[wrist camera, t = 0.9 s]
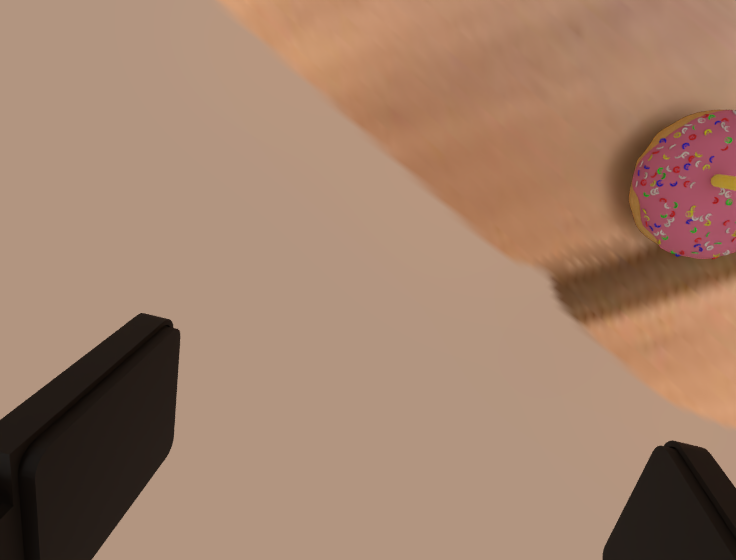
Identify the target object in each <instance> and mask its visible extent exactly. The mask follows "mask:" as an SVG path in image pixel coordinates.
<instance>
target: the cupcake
mask: <svg viewBox="0 0 736 560" xmlns="http://www.w3.org/2000/svg"><path fill="white" fill-rule="evenodd" d="M629 204H630V207H631V210H632V213H633V217H634V220H635V223H636V225H637V227H638V228H639V230H640V231H641V232H642V233H643V234H644V235H645V236H646V237H648V238H649V239H650V240H652V241H653V242H655V243H656V244H658V245H659V246H660V247H661V248H662V249H664V250H666V251H668V252H670V253H672V254H675V255H676V256H687V257H692V258H698V259H708V258H712V259H715V258H717V257H719V256H723V255H727V254H731V253H734V252H736V110H712V111H704V112H699V113H695V114H692V115H689V116H686V117H684V118H682V119H680V120H678V121H677V122H675V123H673V124H672V125H670V126H668V127H666V128H664V129H663V130H661V131H660V132H659V133H658V134H657V135H656V136H655V137H654V139H653V140H652V142H651V143H650V145H649V146H648V148H647V149H646V150H645V152H644V153H643V154H642V155H641V156H640V157H639V159H638V161H637V163H636V166H635V171H634V175H633V179H632V183H631V188H630V193H629Z"/></svg>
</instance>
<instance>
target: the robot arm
mask: <svg viewBox="0 0 736 560" xmlns="http://www.w3.org/2000/svg"><path fill="white" fill-rule="evenodd" d="M179 349H180V331H179V330H178V329H175V328H173V323H172V321H171V320H169V319H165V318H161V317H157V316H153V315H149V314H144V313H140V314H139V315H137V316H136V317H134V318H133V319H132V320H130V321H129V322H128V323H126V324H125V325H124V326H123V327H121V328H120V329H119V330H117V331H116V332H115V333H113V334H112V335H111V336H109V337H108V338H107V339H106V340H104V341H103V342H102V343H100V344H99V345H98V346H96V347H95V348H94V349H92V350H91V351H90V352H88V353H87V354H86V355H85V356H83V357H82V358H81V359H79V360H78V361H77V362H75V363H74V364H73V365H71V366H70V367H69V368H68V369H66V370H65V371H64V372H62V373H61V374H60V375H58V376H57V377H56V378H55V379H53V380H52V381H51V382H49V383H48V384H47V385H45V386H44V387H43V388H41V389H40V390H39V391H38V392H36V393H35V394H34V395H32V396H31V397H30V398H28V399H27V400H26V401H24V402H23V403H22V404H21V405H19V406H18V407H17V408H15V409H14V410H13V411H11V412H10V413H9V414H7V415H6V416H5V417H4V418H2V419H1V420H0V560H91V559H92V558H93V557H94V556H95V554H96V553H97V552H98V550H99V549H100V547H101V546H102V545H103V543H104V542H105V541H106V539H107V538H108V536H109V535H110V534H111V532H112V531H113V529H114V528H115V527H116V526H117V524H118V523H119V521H120V520H121V519H122V517H123V516H124V514H125V513H126V512H127V510H128V509H129V508H130V506H131V505H132V504H133V502H134V501H135V499H136V498H137V497H138V495H139V494H140V492H141V491H142V490H143V489H144V487H145V486H146V484H147V483H148V482H149V480H150V479H151V478H152V476H153V475H154V473H155V472H156V471H157V469H158V468H159V467H160V465H161V464H162V462H163V461H164V460H165V458H166V457H167V455H168V454H169V451H170V449H171V447H172V443H173V438H174V425H175V408H176V394H177V393H176V392H177V379H178V364H179ZM603 560H736V488H735V487H734V485H733V484H732V483H731V481H730V480H729V478H728V477H727V476H726V474H725V473H724V472H723V471H722V469H721V467H720V466H719V465H718V463H717V462H716V461H715V459H714V458H713V457H712V455H711V454H710V453H709V452H708V451H707V450H706V449H704V448H702V447H698V446H693V445H689V444H685V443H681V442H676V441H669V442H667V443H666V444H665V445H664V446H658V447H656V448H655V449H654V451H653V452H652V454H651V456H650V458H649V460H648V462H647V464H646V466H645V468H644V470H643V472H642V474H641V476H640V478H639V480H638V482H637V484H636V486H635V488H634V490H633V492H632V494H631V496H630V498H629V500H628V502H627V504H626V506H625V507H624V510H623V511H622V513H621V515H620V517H619V519H618V521H617V523H616V525H615V528H614V529H613V531H612V533H611V535H610V537H609V539H608V541H607V543H606V545H605V547H604V551H603Z"/></svg>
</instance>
